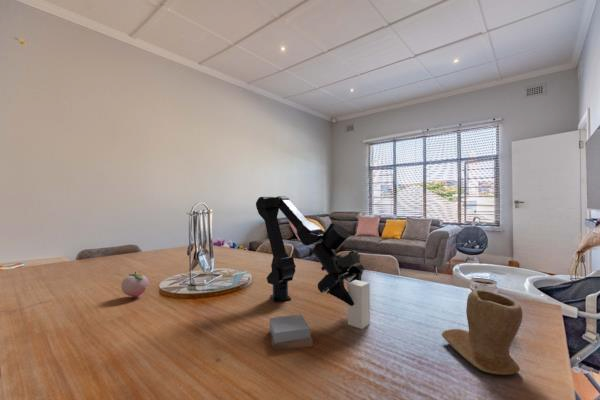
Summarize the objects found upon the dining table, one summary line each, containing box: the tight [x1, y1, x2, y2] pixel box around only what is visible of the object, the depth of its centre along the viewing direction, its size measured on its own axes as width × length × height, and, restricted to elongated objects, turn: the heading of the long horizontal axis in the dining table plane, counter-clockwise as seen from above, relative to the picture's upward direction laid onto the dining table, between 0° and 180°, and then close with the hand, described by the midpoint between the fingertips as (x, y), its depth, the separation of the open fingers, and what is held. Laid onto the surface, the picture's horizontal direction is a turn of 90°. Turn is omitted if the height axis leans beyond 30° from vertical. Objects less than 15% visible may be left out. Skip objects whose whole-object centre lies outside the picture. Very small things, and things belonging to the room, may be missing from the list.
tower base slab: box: [269, 329, 314, 351], centre depth 72 cm, size 10×10×2 cm
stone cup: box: [441, 290, 523, 376], centre depth 62 cm, size 15×12×15 cm
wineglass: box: [469, 277, 499, 294], centre depth 80 cm, size 7×7×12 cm
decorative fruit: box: [121, 271, 150, 298], centre depth 106 cm, size 9×8×10 cm
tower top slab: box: [269, 313, 311, 343], centre depth 72 cm, size 9×9×2 cm
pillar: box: [347, 280, 371, 330], centre depth 80 cm, size 5×5×12 cm
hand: (359, 301), depth 80 cm, fingers open, 7 cm apart
